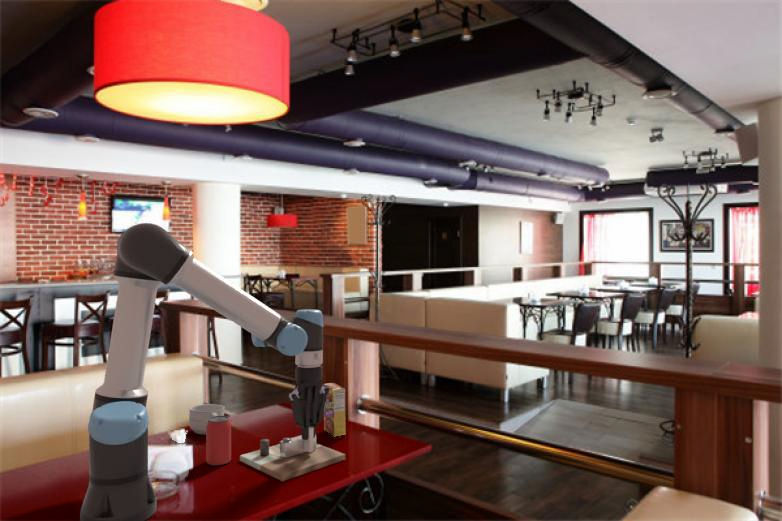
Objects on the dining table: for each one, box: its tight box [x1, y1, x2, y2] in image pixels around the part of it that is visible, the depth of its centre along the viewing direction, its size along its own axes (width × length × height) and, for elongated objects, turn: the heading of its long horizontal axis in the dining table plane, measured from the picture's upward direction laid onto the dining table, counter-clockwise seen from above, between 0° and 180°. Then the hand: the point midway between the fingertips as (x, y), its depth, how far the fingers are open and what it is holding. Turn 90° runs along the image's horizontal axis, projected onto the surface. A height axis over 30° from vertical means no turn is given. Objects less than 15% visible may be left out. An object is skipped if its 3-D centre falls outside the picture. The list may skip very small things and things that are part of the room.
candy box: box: [323, 382, 347, 438], centre depth 180 cm, size 9×4×15 cm, turn 28°
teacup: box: [188, 403, 225, 435], centre depth 180 cm, size 14×11×8 cm
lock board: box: [239, 438, 346, 482], centre depth 157 cm, size 21×20×6 cm
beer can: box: [205, 415, 232, 466], centre depth 155 cm, size 7×7×12 cm
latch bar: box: [279, 434, 317, 458], centre depth 158 cm, size 10×3×5 cm, turn 134°
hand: (308, 450), depth 157 cm, fingers closed
